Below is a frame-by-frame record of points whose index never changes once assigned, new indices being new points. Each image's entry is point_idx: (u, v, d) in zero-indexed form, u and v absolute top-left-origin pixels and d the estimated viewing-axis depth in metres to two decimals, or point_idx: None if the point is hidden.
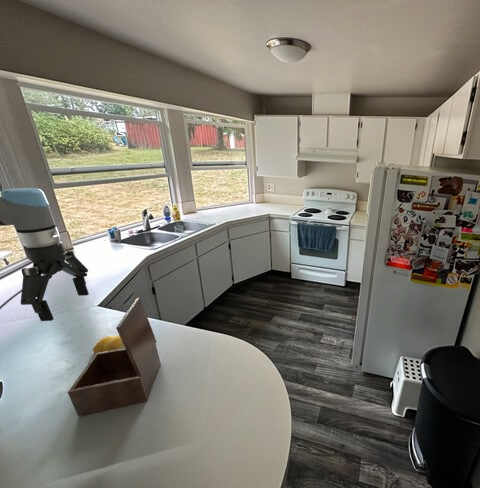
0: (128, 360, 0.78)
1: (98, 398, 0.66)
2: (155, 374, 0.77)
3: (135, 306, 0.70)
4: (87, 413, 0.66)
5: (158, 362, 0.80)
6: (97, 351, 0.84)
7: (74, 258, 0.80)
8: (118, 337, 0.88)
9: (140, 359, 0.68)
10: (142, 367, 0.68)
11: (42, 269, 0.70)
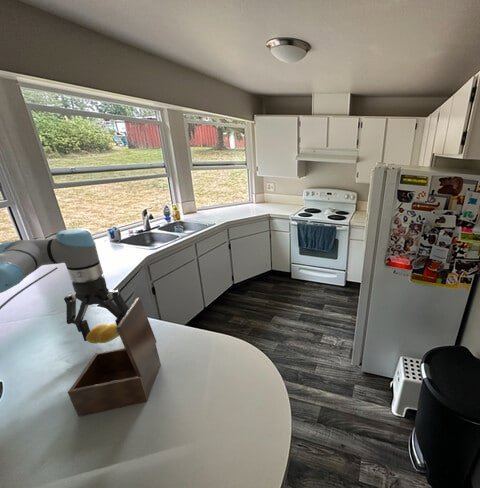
0: (128, 360, 0.78)
1: (98, 398, 0.66)
2: (155, 374, 0.77)
3: (135, 306, 0.70)
4: (87, 413, 0.66)
5: (158, 362, 0.80)
6: (90, 339, 0.82)
7: (115, 300, 0.82)
8: (112, 325, 0.86)
9: (140, 359, 0.68)
10: (142, 367, 0.68)
11: (77, 298, 0.79)
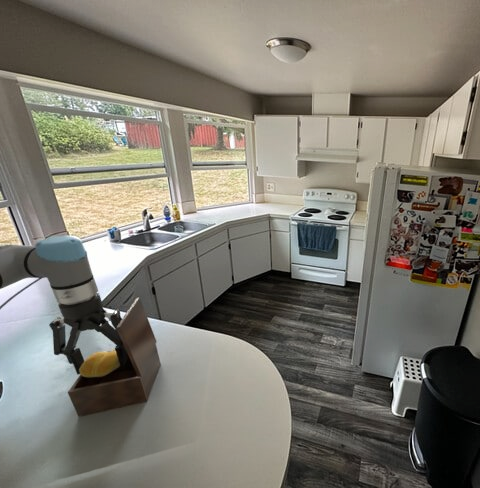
0: (128, 360, 0.78)
1: (98, 398, 0.66)
2: (155, 374, 0.77)
3: (135, 306, 0.70)
4: (87, 413, 0.66)
5: (158, 362, 0.80)
6: (84, 372, 0.66)
7: (114, 323, 0.66)
8: (112, 353, 0.70)
9: (140, 359, 0.68)
10: (142, 367, 0.68)
11: (66, 323, 0.62)
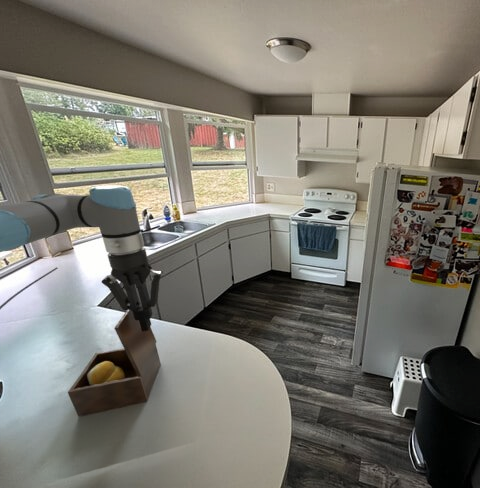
0: (128, 360, 0.78)
1: (98, 398, 0.66)
2: (155, 374, 0.77)
3: None
4: (87, 413, 0.66)
5: (158, 362, 0.80)
6: (95, 381, 0.67)
7: (154, 283, 0.65)
8: (121, 373, 0.73)
9: (140, 359, 0.68)
10: (142, 367, 0.68)
11: (113, 276, 0.62)
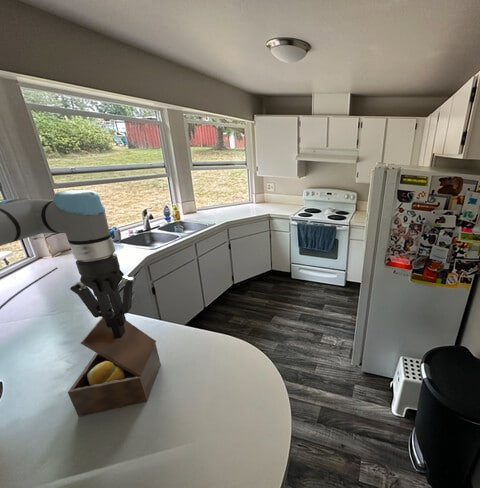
0: None
1: (98, 398, 0.66)
2: (155, 374, 0.77)
3: None
4: (87, 413, 0.66)
5: (158, 362, 0.80)
6: (95, 381, 0.67)
7: (126, 290, 0.64)
8: (121, 373, 0.73)
9: (133, 362, 0.68)
10: (140, 367, 0.68)
11: (82, 283, 0.60)
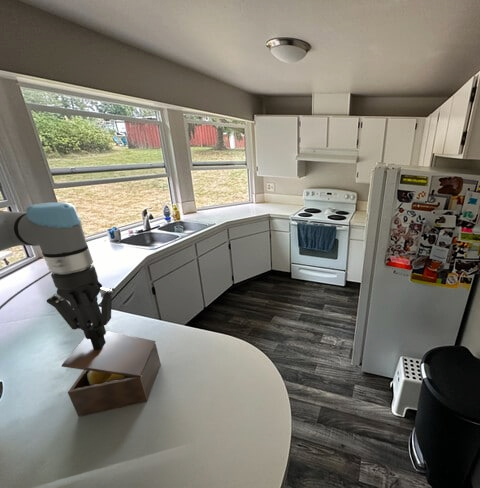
0: None
1: (98, 398, 0.66)
2: (155, 374, 0.77)
3: None
4: (87, 413, 0.66)
5: (158, 362, 0.80)
6: (95, 381, 0.67)
7: (104, 301, 0.63)
8: None
9: (128, 366, 0.68)
10: (138, 368, 0.68)
11: (59, 295, 0.60)
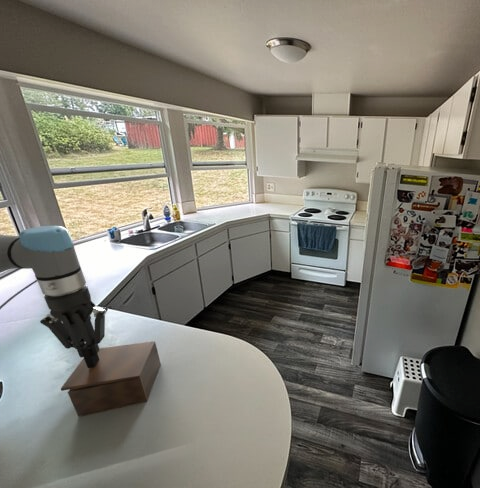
0: None
1: (98, 398, 0.66)
2: (155, 374, 0.77)
3: None
4: (87, 413, 0.66)
5: (158, 362, 0.80)
6: None
7: (97, 321, 0.64)
8: None
9: (127, 370, 0.68)
10: (137, 370, 0.68)
11: (52, 316, 0.61)
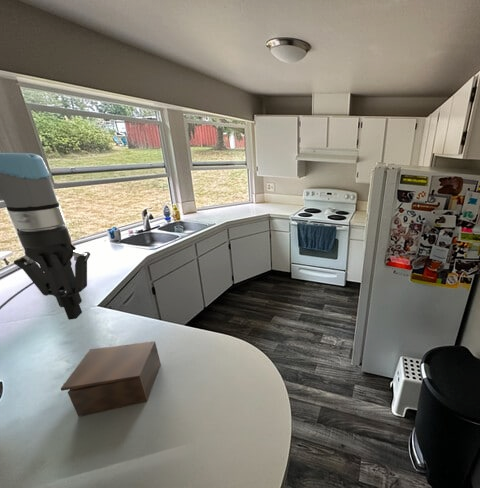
0: None
1: (98, 398, 0.66)
2: (155, 374, 0.77)
3: (85, 358, 0.70)
4: (87, 413, 0.66)
5: (158, 362, 0.80)
6: None
7: (78, 265, 0.59)
8: None
9: (127, 370, 0.68)
10: (137, 370, 0.68)
11: (28, 256, 0.55)
